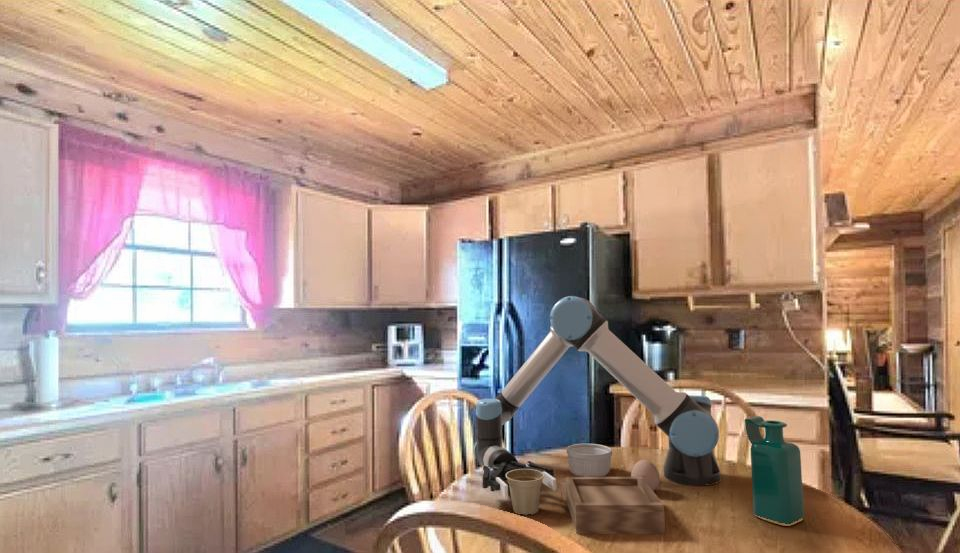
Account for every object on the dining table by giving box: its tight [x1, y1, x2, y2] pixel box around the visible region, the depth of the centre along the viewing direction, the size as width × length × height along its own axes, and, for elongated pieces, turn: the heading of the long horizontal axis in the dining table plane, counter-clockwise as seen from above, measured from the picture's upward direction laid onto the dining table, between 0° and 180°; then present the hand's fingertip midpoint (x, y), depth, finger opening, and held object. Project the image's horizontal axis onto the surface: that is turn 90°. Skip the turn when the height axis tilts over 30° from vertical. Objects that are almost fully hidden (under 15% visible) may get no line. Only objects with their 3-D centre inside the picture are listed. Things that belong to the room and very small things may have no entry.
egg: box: [630, 459, 660, 492], centre depth 140 cm, size 7×7×8 cm
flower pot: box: [506, 469, 544, 516], centre depth 129 cm, size 9×9×9 cm
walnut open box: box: [565, 476, 666, 535], centre depth 124 cm, size 19×19×6 cm
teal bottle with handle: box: [744, 415, 805, 524], centre depth 122 cm, size 10×8×22 cm
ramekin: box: [566, 443, 613, 477], centre depth 157 cm, size 13×13×7 cm
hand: (530, 488), depth 126 cm, fingers open, 12 cm apart
